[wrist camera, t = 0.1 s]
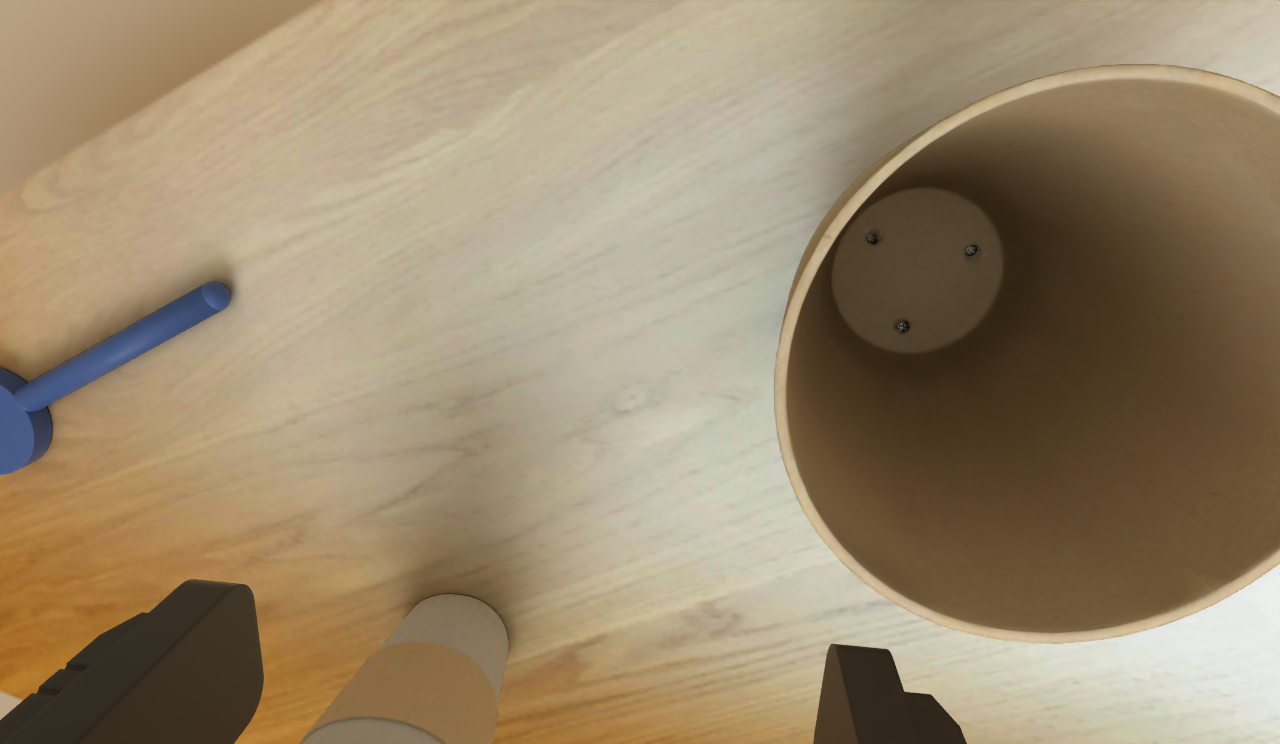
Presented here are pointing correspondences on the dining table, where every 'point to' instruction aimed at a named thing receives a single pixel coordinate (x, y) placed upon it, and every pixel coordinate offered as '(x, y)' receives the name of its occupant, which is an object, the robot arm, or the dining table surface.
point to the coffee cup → (425, 681)
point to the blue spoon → (89, 373)
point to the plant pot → (1049, 358)
